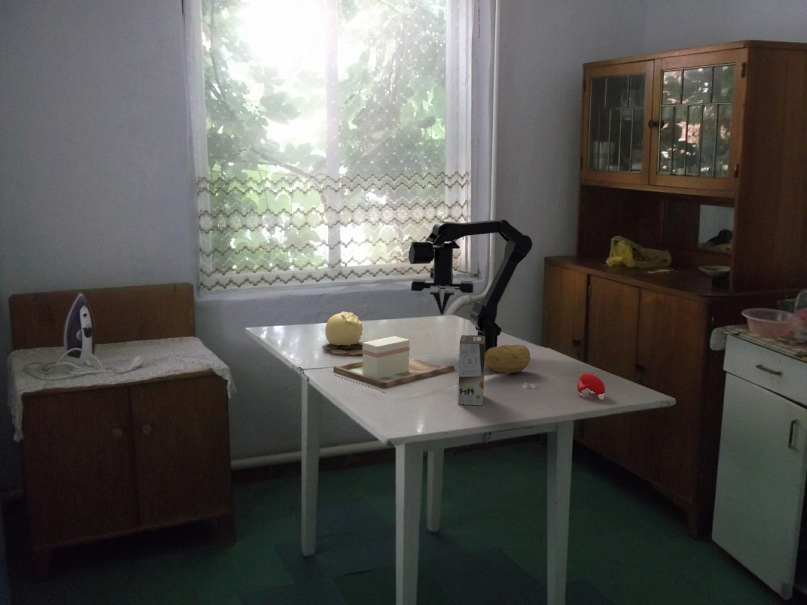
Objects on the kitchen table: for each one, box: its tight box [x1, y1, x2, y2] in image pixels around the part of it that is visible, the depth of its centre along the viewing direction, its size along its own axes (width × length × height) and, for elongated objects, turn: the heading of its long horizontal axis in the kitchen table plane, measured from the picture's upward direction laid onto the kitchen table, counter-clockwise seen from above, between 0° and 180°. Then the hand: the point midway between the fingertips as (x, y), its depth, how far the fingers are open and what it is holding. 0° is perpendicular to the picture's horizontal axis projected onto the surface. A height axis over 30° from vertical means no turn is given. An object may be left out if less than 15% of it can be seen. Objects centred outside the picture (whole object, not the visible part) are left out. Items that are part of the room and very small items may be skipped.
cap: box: [576, 372, 606, 396], centre depth 218 cm, size 8×6×6 cm
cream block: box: [361, 335, 410, 379], centre depth 233 cm, size 12×6×9 cm, turn 133°
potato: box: [485, 344, 531, 374], centre depth 239 cm, size 10×14×8 cm
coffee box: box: [457, 334, 486, 406], centre depth 213 cm, size 9×6×16 cm
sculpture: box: [324, 311, 364, 346], centre depth 269 cm, size 12×12×11 cm
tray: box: [333, 356, 455, 389], centre depth 236 cm, size 27×21×2 cm
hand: (441, 313), depth 256 cm, fingers closed
